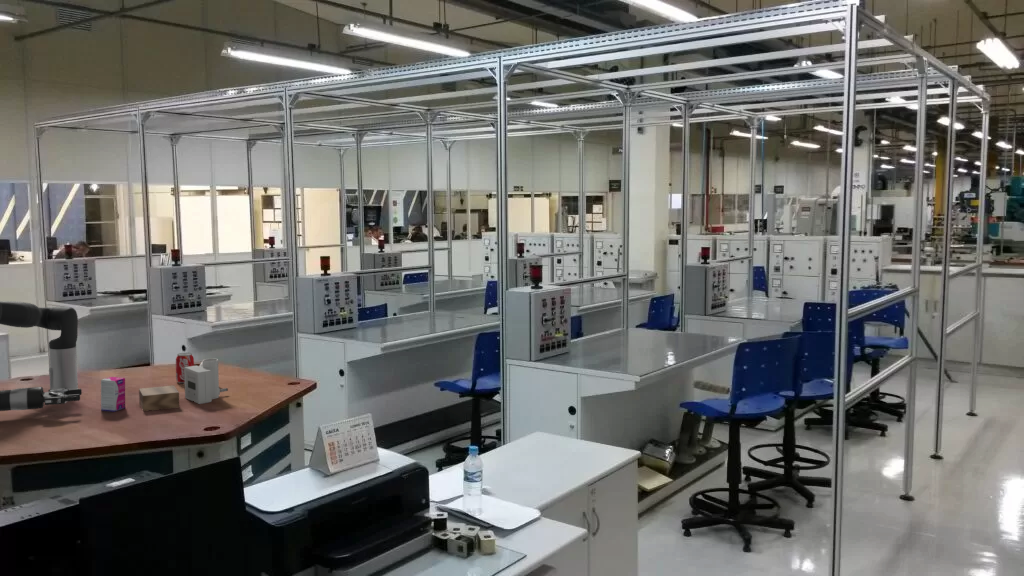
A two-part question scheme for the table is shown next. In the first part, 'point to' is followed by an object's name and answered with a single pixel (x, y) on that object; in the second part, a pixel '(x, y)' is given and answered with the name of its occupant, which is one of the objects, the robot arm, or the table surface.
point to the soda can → (183, 365)
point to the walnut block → (159, 398)
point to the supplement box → (112, 394)
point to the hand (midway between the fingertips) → (80, 394)
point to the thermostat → (202, 382)
